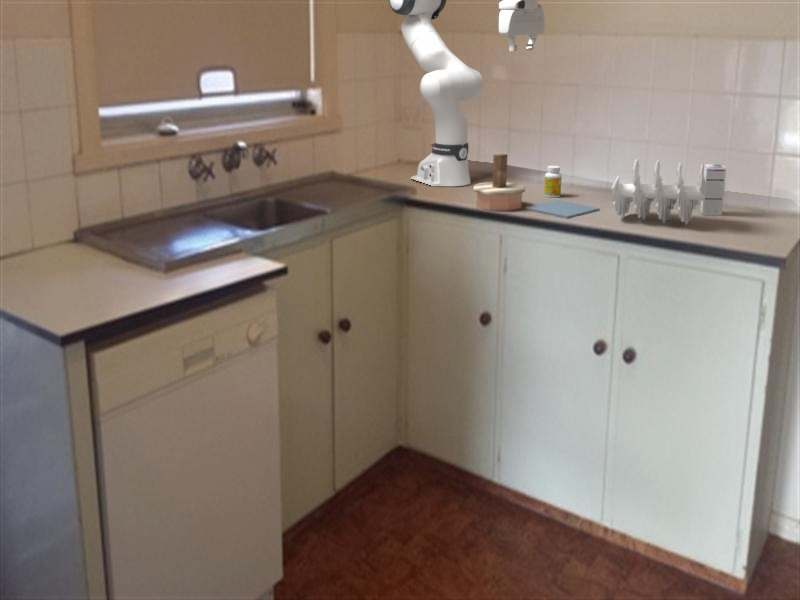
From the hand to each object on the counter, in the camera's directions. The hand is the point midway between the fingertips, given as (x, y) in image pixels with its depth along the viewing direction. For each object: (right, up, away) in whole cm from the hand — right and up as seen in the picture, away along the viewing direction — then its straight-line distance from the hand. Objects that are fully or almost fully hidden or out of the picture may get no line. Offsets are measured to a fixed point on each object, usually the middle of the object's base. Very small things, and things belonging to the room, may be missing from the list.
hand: (521, 50), depth 268 cm
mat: (+12, -50, -3) cm, 51 cm away
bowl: (-7, -48, +3) cm, 48 cm away
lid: (-7, -43, +1) cm, 44 cm away
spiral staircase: (+37, -54, -16) cm, 68 cm away
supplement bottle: (+12, -43, +17) cm, 48 cm away
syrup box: (+56, -51, -8) cm, 76 cm away
